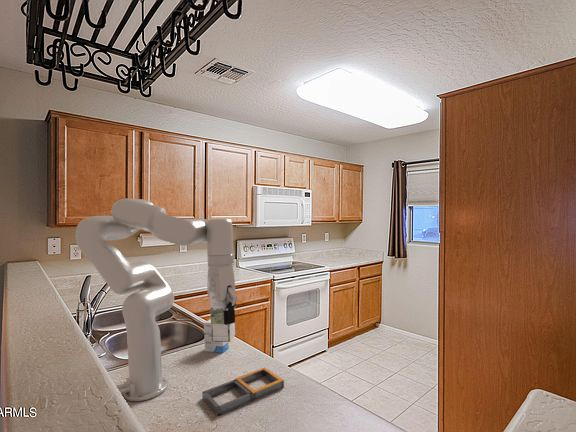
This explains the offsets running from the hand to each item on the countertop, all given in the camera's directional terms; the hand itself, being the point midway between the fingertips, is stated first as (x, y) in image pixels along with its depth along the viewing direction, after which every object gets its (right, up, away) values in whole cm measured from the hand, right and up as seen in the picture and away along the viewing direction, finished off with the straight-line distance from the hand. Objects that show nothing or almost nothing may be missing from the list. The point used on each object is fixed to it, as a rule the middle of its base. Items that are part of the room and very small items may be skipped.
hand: (223, 319), depth 93 cm
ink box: (-10, -24, +36) cm, 45 cm away
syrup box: (0, -6, 0) cm, 6 cm away
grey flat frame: (+6, -23, +3) cm, 24 cm away
